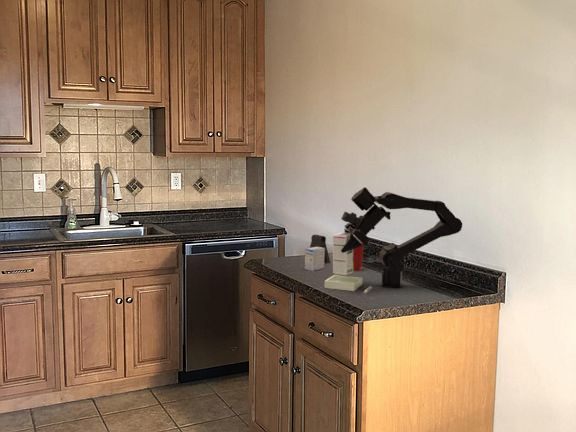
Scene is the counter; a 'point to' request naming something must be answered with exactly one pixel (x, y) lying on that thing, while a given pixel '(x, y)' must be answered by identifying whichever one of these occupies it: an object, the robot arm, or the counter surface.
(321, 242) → the phone stand
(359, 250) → the paper cup
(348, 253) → the syrup box
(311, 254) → the medicine box
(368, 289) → the rod
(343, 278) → the tray
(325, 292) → the counter surface
